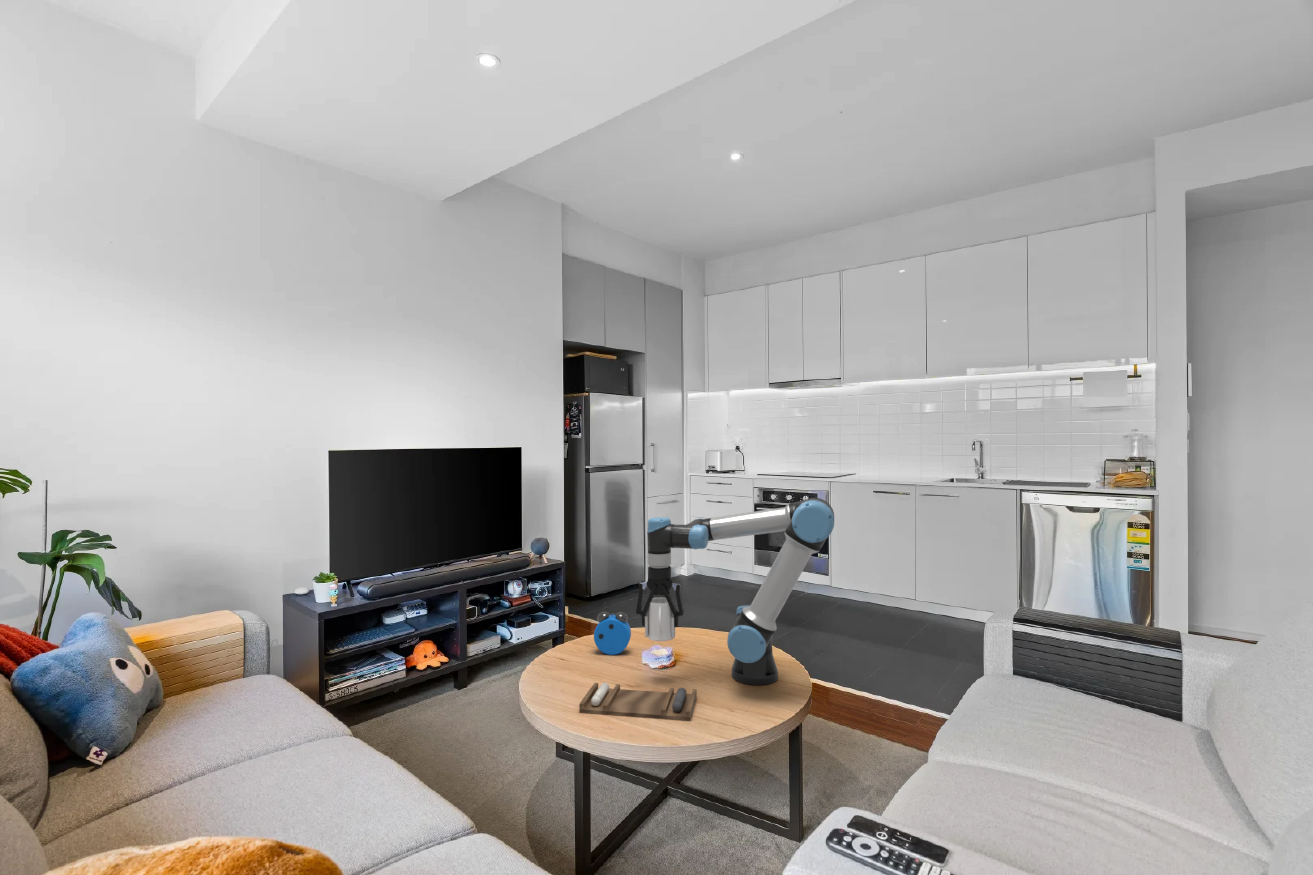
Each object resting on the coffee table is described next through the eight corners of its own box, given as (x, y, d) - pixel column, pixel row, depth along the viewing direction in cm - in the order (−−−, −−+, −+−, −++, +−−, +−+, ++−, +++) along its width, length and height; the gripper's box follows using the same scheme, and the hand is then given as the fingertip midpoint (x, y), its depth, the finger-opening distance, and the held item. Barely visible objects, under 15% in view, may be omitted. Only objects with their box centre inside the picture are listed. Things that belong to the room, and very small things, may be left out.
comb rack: (696, 697, 189) (696, 689, 189) (690, 720, 173) (690, 711, 173) (594, 690, 195) (594, 682, 195) (579, 712, 179) (579, 703, 179)
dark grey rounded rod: (687, 695, 188) (687, 686, 188) (681, 713, 176) (681, 703, 176) (677, 695, 189) (677, 685, 189) (671, 713, 176) (671, 703, 176)
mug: (671, 645, 195) (670, 606, 195) (644, 644, 196) (643, 605, 196) (675, 633, 207) (675, 597, 207) (650, 632, 208) (649, 596, 208)
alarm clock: (631, 650, 232) (631, 610, 232) (629, 656, 226) (628, 614, 226) (596, 649, 233) (596, 609, 234) (593, 655, 227) (593, 614, 227)
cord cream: (610, 690, 192) (610, 681, 192) (599, 707, 180) (599, 698, 180) (601, 689, 193) (601, 680, 193) (590, 707, 180) (589, 697, 180)
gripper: (692, 564, 204) (693, 634, 203) (630, 562, 207) (631, 631, 207) (690, 568, 196) (690, 641, 196) (625, 567, 200) (626, 638, 200)
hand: (660, 636), depth 201 cm, fingers closed on mug, 8 cm apart
